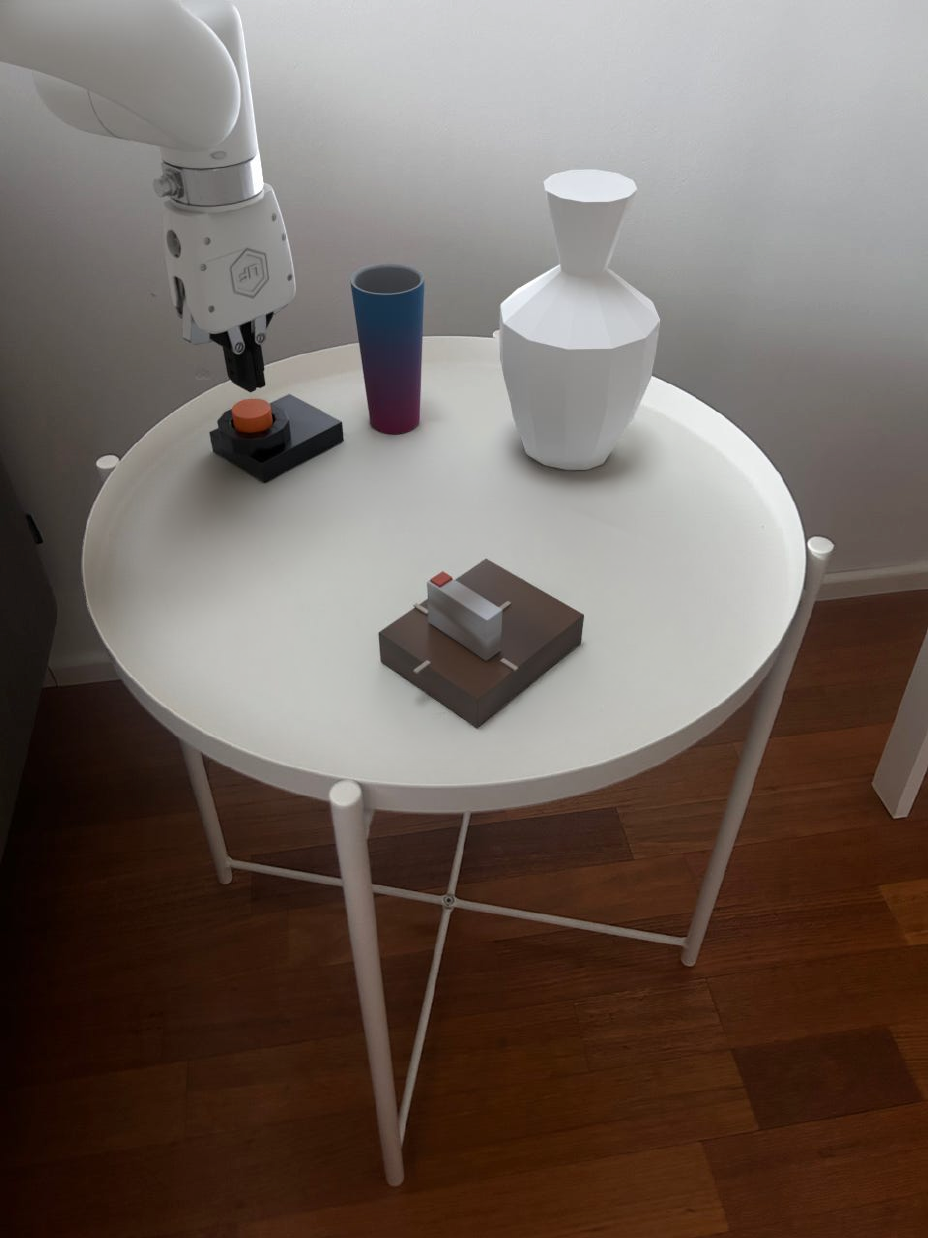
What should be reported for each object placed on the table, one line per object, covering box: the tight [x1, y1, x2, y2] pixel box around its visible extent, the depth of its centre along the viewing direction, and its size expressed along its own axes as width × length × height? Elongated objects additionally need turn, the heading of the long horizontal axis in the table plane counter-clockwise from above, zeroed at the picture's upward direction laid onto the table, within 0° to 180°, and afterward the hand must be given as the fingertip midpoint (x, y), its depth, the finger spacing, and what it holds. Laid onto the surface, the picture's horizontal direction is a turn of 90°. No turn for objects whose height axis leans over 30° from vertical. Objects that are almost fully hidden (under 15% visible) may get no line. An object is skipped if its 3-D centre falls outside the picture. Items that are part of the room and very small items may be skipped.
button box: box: [208, 393, 345, 484], centre depth 97 cm, size 11×8×4 cm
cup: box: [349, 262, 426, 435], centre depth 97 cm, size 7×7×15 cm
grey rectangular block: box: [426, 570, 502, 661], centre depth 73 cm, size 6×2×4 cm, turn 46°
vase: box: [498, 168, 661, 471], centre depth 90 cm, size 14×14×25 cm
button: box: [231, 398, 273, 433], centre depth 95 cm, size 4×4×2 cm
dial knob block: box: [377, 558, 585, 728], centre depth 76 cm, size 13×10×3 cm
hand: (248, 383), depth 92 cm, fingers closed
